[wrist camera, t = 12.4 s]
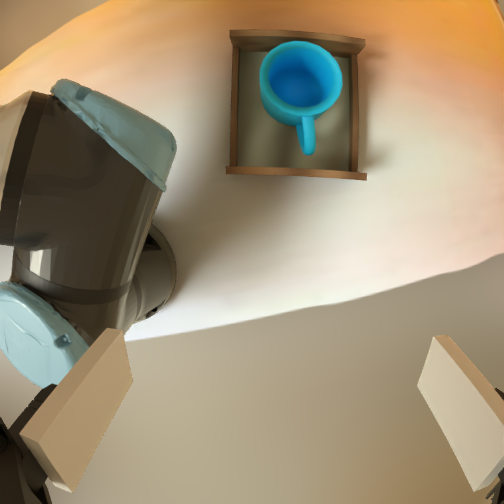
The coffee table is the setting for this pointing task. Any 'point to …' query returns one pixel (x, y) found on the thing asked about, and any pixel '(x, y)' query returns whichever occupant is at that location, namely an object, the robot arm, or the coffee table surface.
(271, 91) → the mug
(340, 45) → the tray
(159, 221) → the coffee table surface
